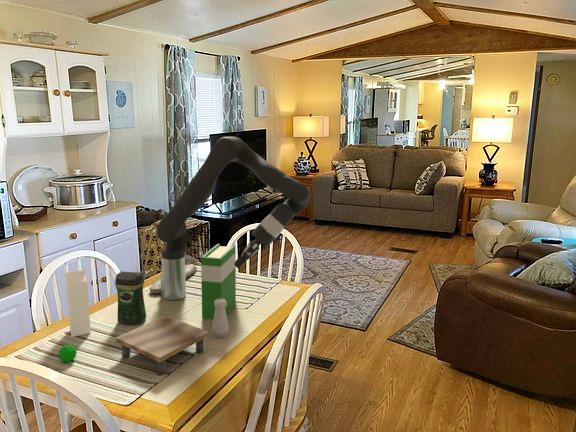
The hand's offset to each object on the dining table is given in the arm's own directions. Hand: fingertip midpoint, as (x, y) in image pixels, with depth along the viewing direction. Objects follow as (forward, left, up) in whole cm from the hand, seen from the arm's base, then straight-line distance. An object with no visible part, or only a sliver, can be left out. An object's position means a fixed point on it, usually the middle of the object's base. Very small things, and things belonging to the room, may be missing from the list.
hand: (236, 265), depth 162 cm
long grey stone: (-52, +19, -24) cm, 60 cm away
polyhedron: (-27, -47, -24) cm, 59 cm away
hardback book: (-15, +8, -24) cm, 29 cm away
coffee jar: (-34, -18, -24) cm, 45 cm away
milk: (-41, -34, -24) cm, 59 cm away
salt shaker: (-1, -7, -24) cm, 25 cm away
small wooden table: (-7, -27, -24) cm, 37 cm away
